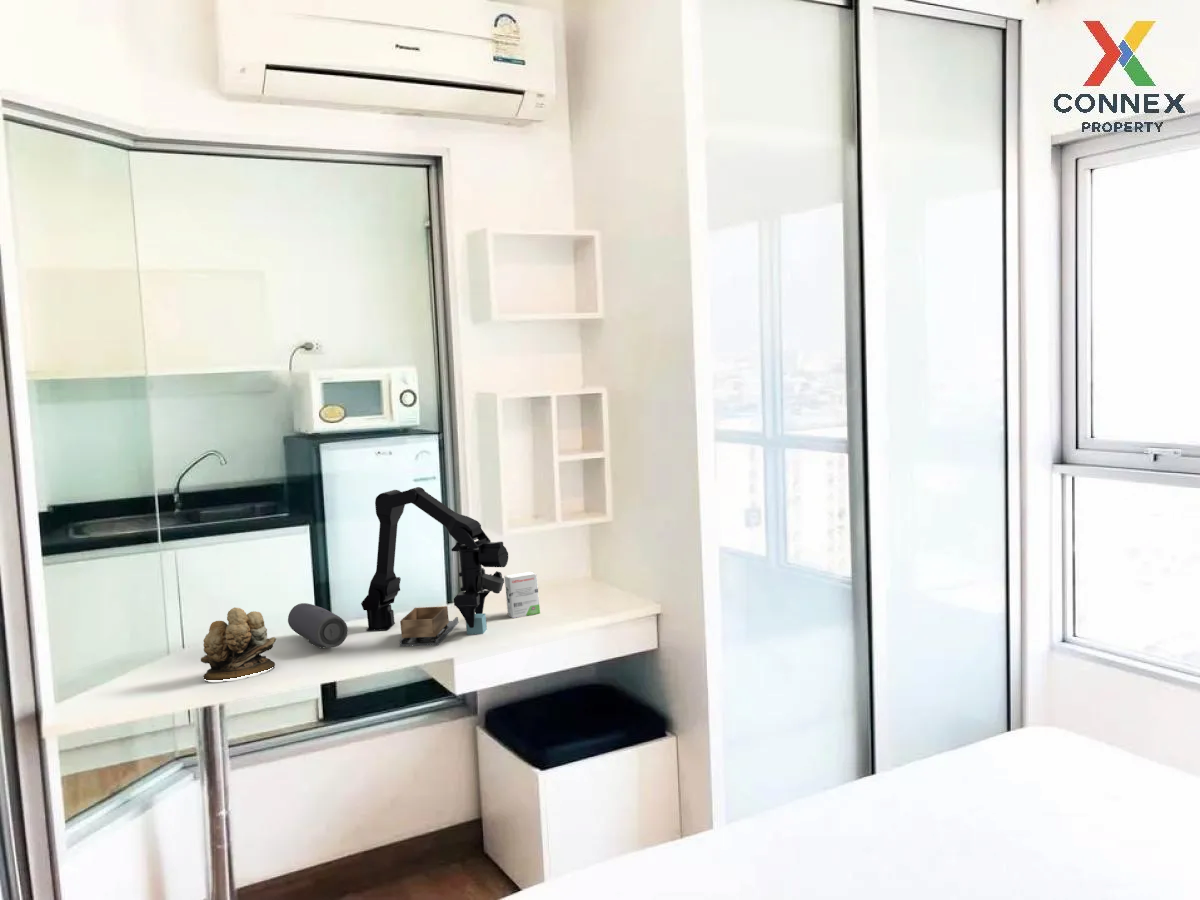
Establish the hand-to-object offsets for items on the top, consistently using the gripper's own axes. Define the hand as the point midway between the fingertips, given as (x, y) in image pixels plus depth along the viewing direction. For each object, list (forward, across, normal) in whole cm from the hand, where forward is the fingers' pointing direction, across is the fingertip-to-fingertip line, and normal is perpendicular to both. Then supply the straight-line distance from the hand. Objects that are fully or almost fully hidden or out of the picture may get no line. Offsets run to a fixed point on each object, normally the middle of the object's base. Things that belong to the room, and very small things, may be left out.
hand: (476, 622), depth 264 cm
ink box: (+3, +16, -10) cm, 19 cm away
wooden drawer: (+2, -4, +13) cm, 14 cm away
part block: (+3, 0, 0) cm, 3 cm away
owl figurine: (+3, -28, +54) cm, 61 cm away
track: (+2, 0, +13) cm, 13 cm away
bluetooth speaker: (+3, -5, +43) cm, 43 cm away
